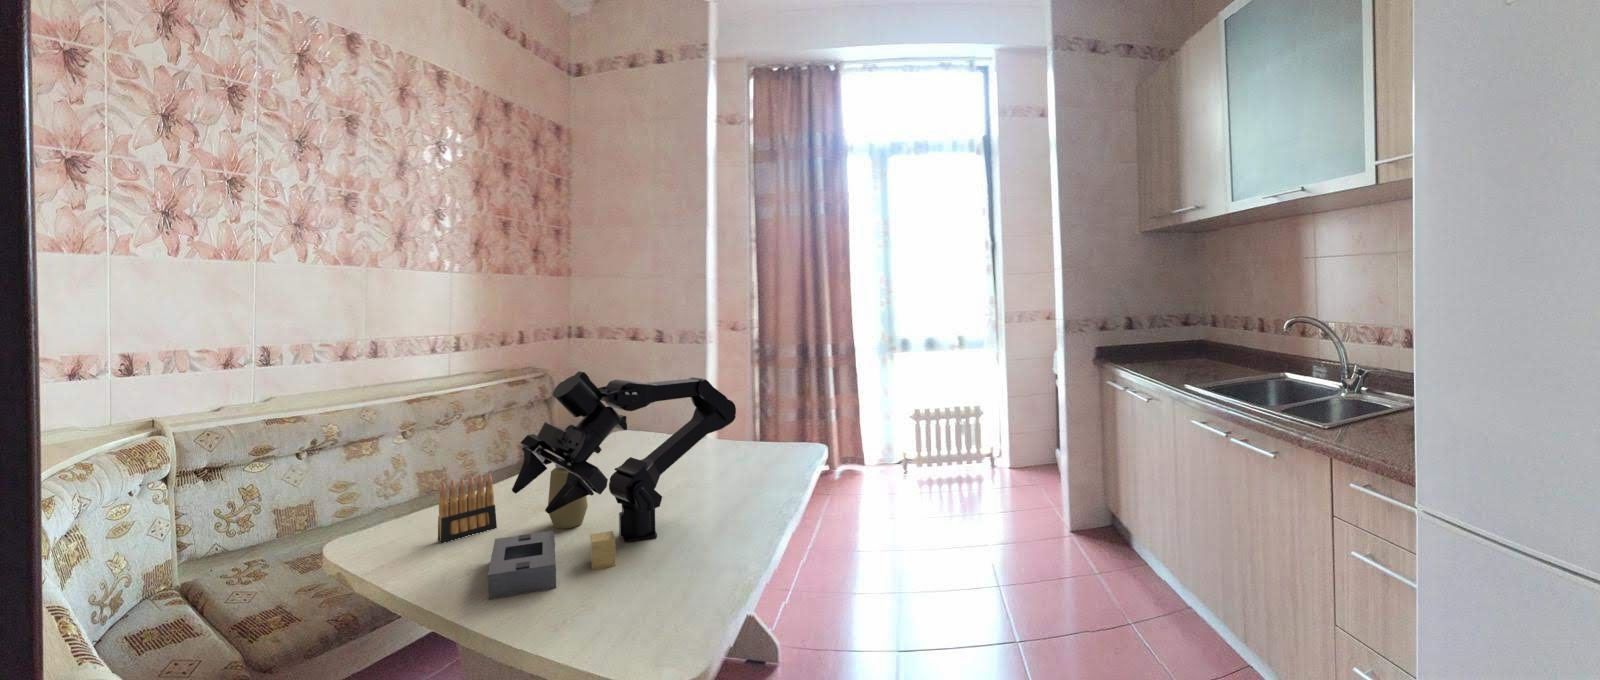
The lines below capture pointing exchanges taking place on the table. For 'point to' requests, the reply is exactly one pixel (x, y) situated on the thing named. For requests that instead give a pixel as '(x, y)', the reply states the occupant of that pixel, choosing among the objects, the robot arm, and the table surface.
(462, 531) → the ammunition clip
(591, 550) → the tan wooden block
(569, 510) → the squeeze bottle
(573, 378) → the robot arm
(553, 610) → the table surface
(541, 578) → the grey socket block
